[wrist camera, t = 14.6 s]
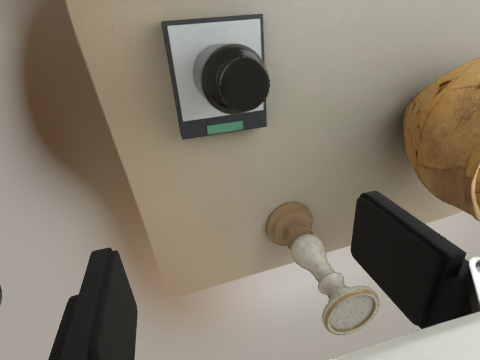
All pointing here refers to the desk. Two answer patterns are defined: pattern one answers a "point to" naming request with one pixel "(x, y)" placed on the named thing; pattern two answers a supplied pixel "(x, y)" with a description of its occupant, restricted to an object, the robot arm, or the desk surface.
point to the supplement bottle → (231, 78)
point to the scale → (181, 70)
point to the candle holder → (322, 270)
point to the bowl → (448, 137)
